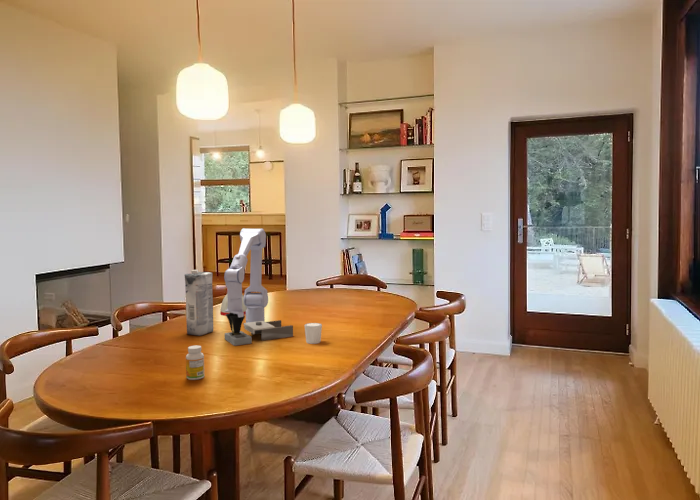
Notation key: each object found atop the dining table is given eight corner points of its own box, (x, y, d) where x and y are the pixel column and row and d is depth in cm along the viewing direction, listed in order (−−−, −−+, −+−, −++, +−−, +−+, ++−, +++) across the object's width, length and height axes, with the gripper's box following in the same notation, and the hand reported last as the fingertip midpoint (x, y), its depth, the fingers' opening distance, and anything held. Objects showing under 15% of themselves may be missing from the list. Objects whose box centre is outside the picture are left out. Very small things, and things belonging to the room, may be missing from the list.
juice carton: (216, 331, 224) (215, 269, 222) (200, 336, 214) (198, 271, 212) (200, 329, 228) (198, 268, 225) (183, 334, 218) (181, 270, 216)
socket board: (224, 339, 210) (224, 333, 210) (241, 336, 214) (241, 330, 213) (234, 345, 200) (234, 339, 200) (251, 343, 203) (251, 337, 203)
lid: (243, 328, 216) (243, 320, 216) (262, 325, 221) (262, 318, 221) (254, 334, 205) (254, 326, 205) (274, 331, 210) (274, 324, 210)
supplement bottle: (188, 374, 165) (187, 344, 164) (205, 374, 166) (205, 344, 165) (184, 380, 160) (183, 349, 159) (202, 379, 160) (201, 349, 159)
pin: (237, 334, 211) (237, 320, 210) (241, 336, 209) (240, 321, 208) (230, 335, 209) (230, 321, 209) (234, 337, 207) (233, 322, 206)
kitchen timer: (245, 316, 255) (244, 286, 254) (217, 316, 256) (216, 286, 254) (251, 310, 269) (250, 281, 268) (224, 310, 270) (223, 282, 268)
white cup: (324, 340, 207) (324, 323, 207) (318, 344, 201) (317, 326, 200) (308, 339, 209) (308, 322, 209) (301, 343, 203) (301, 325, 202)
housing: (250, 334, 218) (250, 323, 218) (280, 330, 225) (280, 320, 225) (262, 340, 207) (261, 329, 207) (293, 336, 214) (292, 325, 214)
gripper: (219, 296, 212) (220, 329, 213) (230, 302, 199) (231, 336, 200) (236, 295, 215) (237, 327, 216) (248, 300, 203) (249, 334, 204)
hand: (235, 331), depth 209 cm, fingers closed on pin, 3 cm apart
